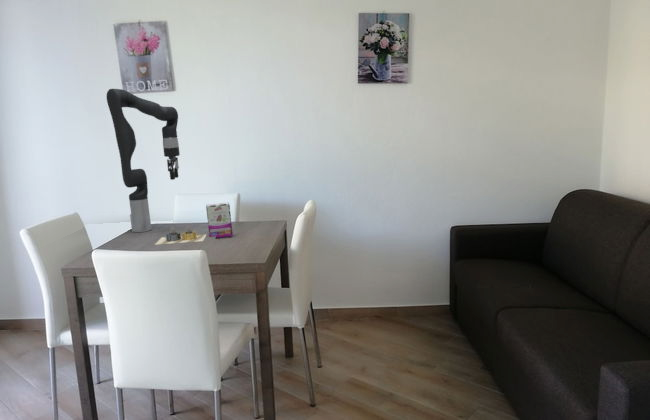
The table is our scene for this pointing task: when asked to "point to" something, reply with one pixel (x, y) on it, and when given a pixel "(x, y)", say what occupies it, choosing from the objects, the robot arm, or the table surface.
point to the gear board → (188, 230)
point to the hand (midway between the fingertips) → (174, 178)
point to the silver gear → (173, 237)
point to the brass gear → (189, 235)
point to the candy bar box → (219, 220)
